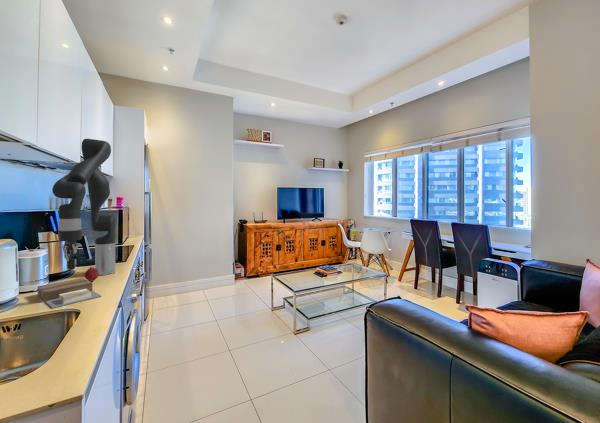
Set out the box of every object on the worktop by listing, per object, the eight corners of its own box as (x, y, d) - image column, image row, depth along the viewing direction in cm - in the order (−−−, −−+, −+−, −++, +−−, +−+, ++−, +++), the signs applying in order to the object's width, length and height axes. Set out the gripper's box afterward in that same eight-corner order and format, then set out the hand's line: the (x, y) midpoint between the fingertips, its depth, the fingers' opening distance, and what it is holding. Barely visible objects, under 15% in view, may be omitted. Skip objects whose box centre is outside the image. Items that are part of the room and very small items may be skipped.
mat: (45, 302, 108) (45, 301, 108) (92, 291, 121) (92, 290, 121) (52, 308, 102) (52, 307, 102) (101, 296, 116) (101, 295, 115)
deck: (37, 295, 115) (37, 286, 115) (83, 286, 128) (83, 277, 128) (45, 302, 108) (44, 292, 108) (92, 291, 121) (92, 282, 121)
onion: (101, 280, 138) (101, 265, 137) (92, 283, 132) (92, 267, 132) (91, 279, 138) (91, 264, 138) (81, 283, 133) (81, 267, 132)
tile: (63, 297, 106) (63, 303, 106) (90, 291, 113) (90, 297, 113) (59, 294, 109) (59, 300, 109) (86, 288, 117) (86, 294, 117)
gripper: (86, 229, 112) (87, 269, 113) (76, 226, 119) (76, 264, 120) (63, 231, 105) (64, 273, 106) (54, 228, 113) (54, 267, 114)
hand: (70, 268), depth 113 cm, fingers closed
